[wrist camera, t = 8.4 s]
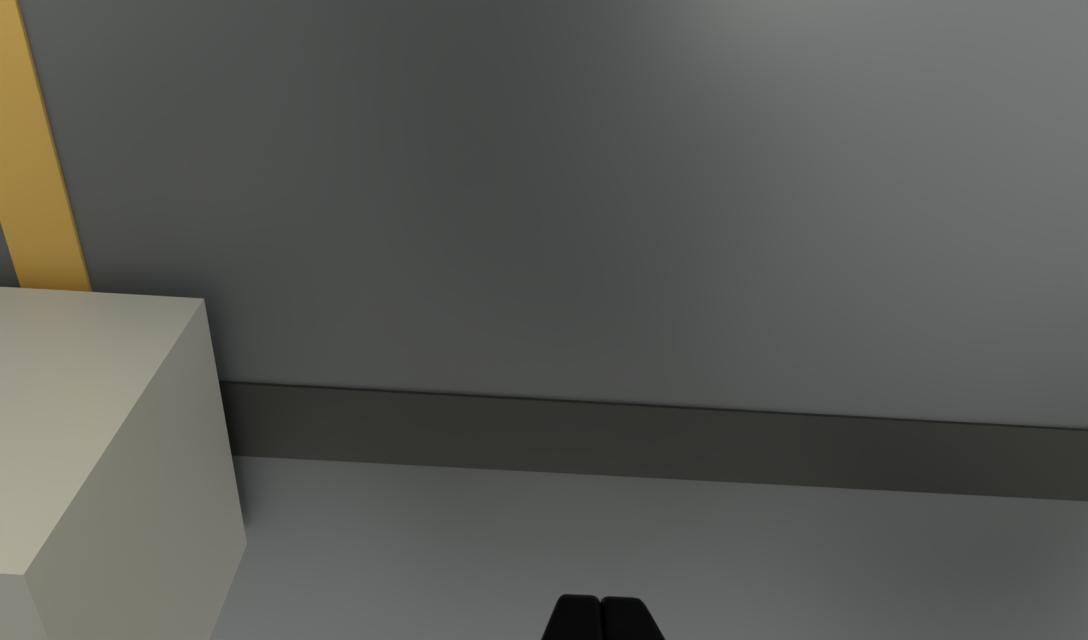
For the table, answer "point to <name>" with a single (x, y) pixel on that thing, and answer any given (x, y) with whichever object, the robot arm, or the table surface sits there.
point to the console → (598, 298)
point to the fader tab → (112, 469)
